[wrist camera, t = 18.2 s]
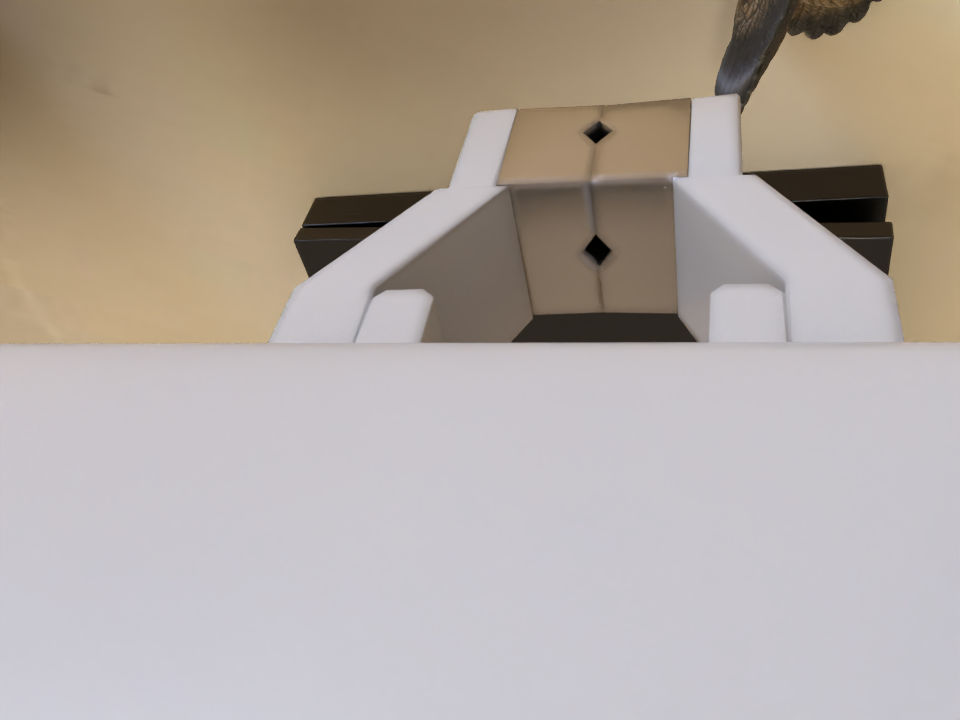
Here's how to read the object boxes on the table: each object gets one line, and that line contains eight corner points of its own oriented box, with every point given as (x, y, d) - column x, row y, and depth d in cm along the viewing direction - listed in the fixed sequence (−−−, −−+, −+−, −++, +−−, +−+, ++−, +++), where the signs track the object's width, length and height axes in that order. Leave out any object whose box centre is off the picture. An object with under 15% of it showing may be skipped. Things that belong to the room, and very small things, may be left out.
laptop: (882, 164, 31) (889, 197, 30) (825, 612, 52) (827, 643, 51) (315, 197, 37) (300, 227, 36) (467, 591, 58) (461, 618, 56)
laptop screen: (892, 219, 29) (893, 237, 29) (828, 663, 50) (829, 678, 49) (301, 225, 36) (292, 240, 35) (462, 617, 56) (458, 630, 56)
